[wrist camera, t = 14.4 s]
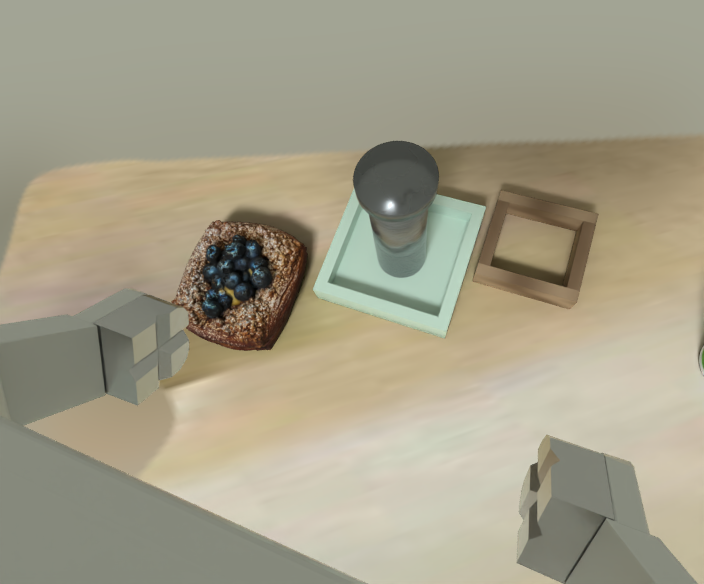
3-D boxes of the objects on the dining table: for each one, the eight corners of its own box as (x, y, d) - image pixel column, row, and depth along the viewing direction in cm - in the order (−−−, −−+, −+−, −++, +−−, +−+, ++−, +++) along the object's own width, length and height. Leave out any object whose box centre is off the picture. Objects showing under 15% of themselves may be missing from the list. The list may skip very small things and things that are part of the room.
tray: (482, 219, 45) (486, 206, 42) (444, 338, 42) (446, 331, 39) (362, 188, 47) (359, 174, 45) (318, 297, 44) (312, 289, 42)
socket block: (590, 224, 43) (598, 213, 41) (569, 309, 41) (576, 302, 39) (497, 201, 45) (501, 190, 43) (472, 281, 43) (475, 273, 41)
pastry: (171, 332, 45) (137, 315, 40) (219, 221, 49) (194, 191, 43) (277, 365, 43) (257, 351, 37) (320, 246, 46) (308, 217, 41)
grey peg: (440, 236, 44) (449, 151, 32) (421, 291, 42) (423, 224, 30) (382, 220, 45) (369, 133, 33) (362, 273, 44) (341, 202, 31)
